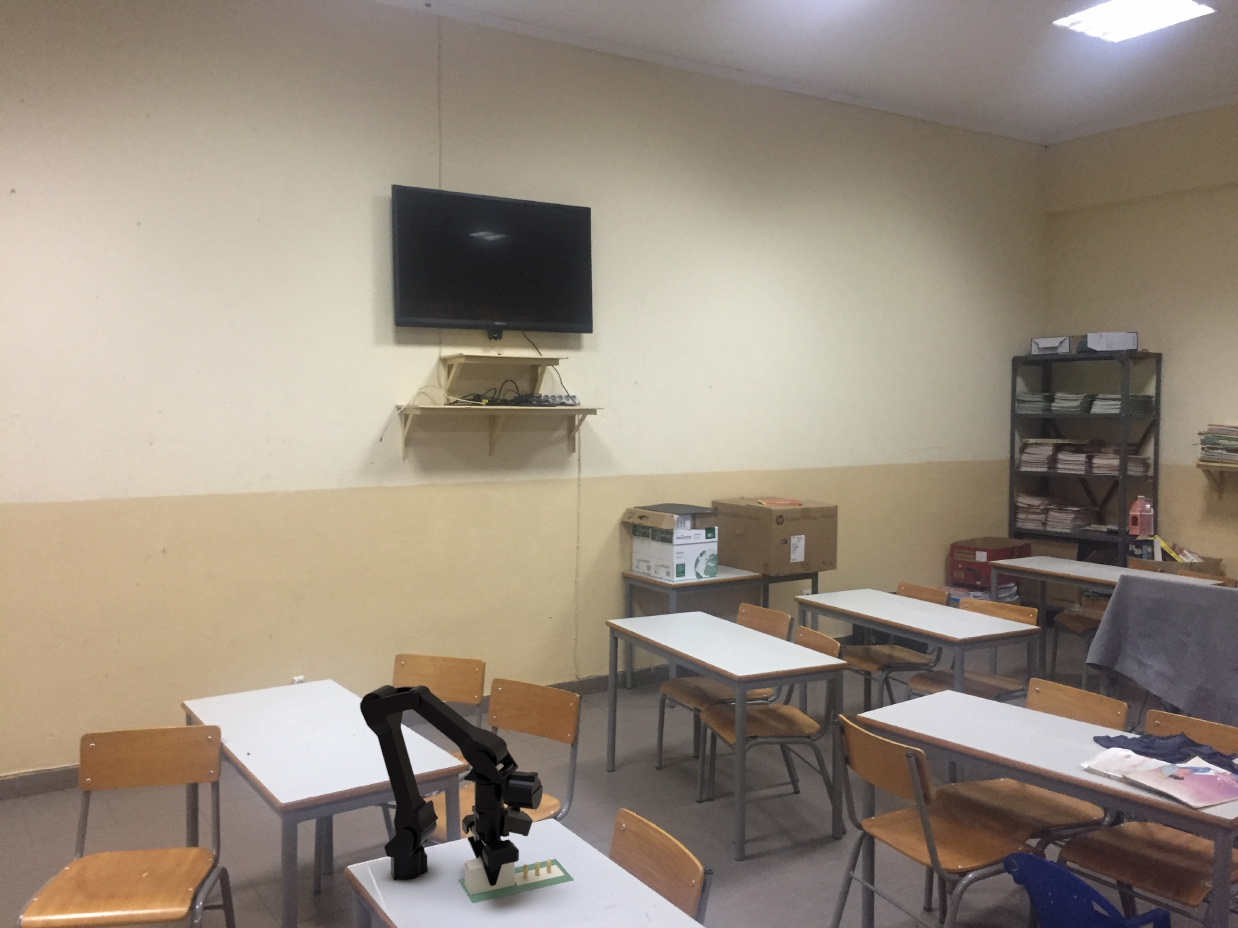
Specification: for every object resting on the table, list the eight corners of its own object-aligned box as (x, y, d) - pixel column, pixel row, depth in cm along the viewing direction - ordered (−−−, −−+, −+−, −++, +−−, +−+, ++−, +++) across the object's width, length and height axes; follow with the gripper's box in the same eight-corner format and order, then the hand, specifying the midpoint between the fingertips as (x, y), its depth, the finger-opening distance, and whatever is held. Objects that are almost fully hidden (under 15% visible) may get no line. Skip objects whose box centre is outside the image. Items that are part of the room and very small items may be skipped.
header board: (472, 907, 176) (472, 889, 176) (458, 884, 185) (458, 867, 185) (574, 884, 185) (574, 867, 185) (555, 863, 194) (555, 846, 194)
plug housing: (470, 894, 179) (470, 869, 178) (464, 885, 182) (464, 860, 182) (514, 884, 182) (514, 860, 182) (508, 875, 186) (508, 851, 186)
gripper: (544, 813, 177) (544, 892, 177) (512, 779, 194) (513, 852, 194) (488, 823, 172) (488, 905, 173) (461, 788, 189) (461, 863, 189)
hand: (489, 880), depth 182 cm, fingers closed on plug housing, 4 cm apart
